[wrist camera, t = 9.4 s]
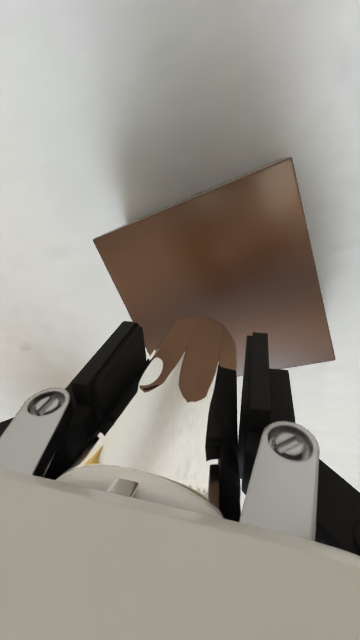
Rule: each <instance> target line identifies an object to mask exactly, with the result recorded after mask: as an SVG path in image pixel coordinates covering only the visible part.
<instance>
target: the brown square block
mask: <svg viewBox="0 0 360 640" xmlns="http://www.w3.org/2000/svg"><path fill="white" fill-rule="evenodd" d="M93 242H94V244H95V246H96V248H97V250H98V252H99V254H100V256H101V258H102V260H103V262H104V264H105V266H106V268H107V270H108V272H109V274H110V276H111V278H112V280H113V282H114V284H115V286H116V288H117V290H118V292H119V294H120V296H121V298H122V300H123V302H124V304H125V306H126V308H127V310H128V312H129V314H130V317H131V319H132V321H133V322H137V323H138V324H139V326H142V328H143V334H144V343H145V347H146V349H147V351H148V353H149V355H151V354H152V353H153V351H154V350H155V348H156V347H157V346H158V344H159V343H160V341H161V340H162V339H163V337H164V336H165V335H166V333H167V332H168V331H169V330H170V329H171V328H172V327H173V326H174V324H175V323H176V322H177V321H178V320H179V319H183V318H188V317H194V316H199V315H202V316H205V317H207V318H210V319H212V320H215V321H217V322H220V323H222V324H224V326H225V327H226V329H227V330H228V331H229V333H230V334H231V336H232V337H233V339H234V340H235V342H236V363H237V376H242V375H244V363H245V351H246V338H247V335H248V336H252V335H253V332H257V333H268V348H269V368H272V369H284V368H290V367H296V366H302V365H308V364H314V363H321V362H327V361H333V360H335V355H334V350H333V345H332V341H331V336H330V332H329V327H328V322H327V318H326V313H325V308H324V304H323V299H322V295H321V290H320V285H319V281H318V276H317V271H316V267H315V262H314V258H313V253H312V248H311V244H310V239H309V234H308V230H307V225H306V221H305V216H304V211H303V207H302V202H301V198H300V193H299V188H298V184H297V179H296V174H295V170H294V165H293V161H292V158H291V157H288V158H283V159H280V160H278V161H276V162H273V163H271V164H268V165H266V166H264V167H261V168H259V169H256V170H254V171H252V172H249V173H247V174H245V175H242V176H240V177H237V178H235V179H233V180H230V181H228V182H225V183H223V184H221V185H218V186H216V187H214V188H211V189H209V190H206V191H204V192H202V193H199V194H197V195H194V196H192V197H190V198H187V199H185V200H182V201H180V202H178V203H175V204H173V205H171V206H168V207H166V208H163V209H161V210H159V211H156V212H154V213H151V214H149V215H147V216H144V217H142V218H140V219H137V220H135V221H132V222H130V223H128V224H125V225H123V226H121V227H119V228H117V229H114V230H112V231H110V232H108V233H106V234H104V235H101V236H99V237H97V238H95V239H93Z"/></svg>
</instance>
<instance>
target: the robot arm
mask: <svg viewBox="0 0 360 640" xmlns="http://www.w3.org/2000/svg"><path fill="white" fill-rule="evenodd" d="M145 362H146V352H145V343H144V334H143V328H142V326H139V324H138V323H137V322H126V321H124V322H122V323H121V325H120V326H119V327H118V328H117V329H116V330H115V332H114V333H113V334H112V335H111V336H110V337H109V339H108V340H107V341H106V342H105V343H104V344H103V346H102V347H101V348H100V349H99V350H98V351H97V352H96V354H95V355H94V356H93V357H92V358H91V359H90V361H89V362H88V363H87V364H86V365H85V366H84V368H83V369H82V370H81V371H80V372H79V373H78V375H77V376H76V377H75V378H74V379H73V380H72V382H71V383H70V384H69V385H68V387H67V388H66V389H62V388H49V389H45V390H42V391H40V392H38V393H35V394H34V395H33V396H31V397H30V398H29V399H28V400H27V401H26V402H25V403H24V404H23V406H22V407H21V409H20V410H19V412H18V413H17V414H16V416H15V417H14V418H11V419H9V420H6V421H3V422H1V423H0V640H360V493H359V492H358V491H357V490H356V489H355V488H353V487H352V486H351V485H350V484H349V483H347V482H346V481H345V480H344V479H343V478H341V477H340V476H339V475H338V474H337V473H335V472H334V471H333V470H332V469H331V468H329V467H328V466H327V465H326V464H325V463H324V462H322V461H321V460H320V459H319V444H318V442H317V440H316V438H315V437H314V436H313V435H312V433H311V432H310V431H309V430H307V429H306V428H304V427H303V426H301V425H298V424H296V423H295V416H294V409H293V402H292V394H291V387H290V380H289V373H288V370H281V369H272V368H269V348H268V333H257V332H253V335H252V336H248V335H247V338H246V351H245V363H244V375H243V387H242V400H241V413H240V426H239V439H238V453H239V471H240V478H241V479H242V491H243V492H244V494H245V495H246V497H245V500H244V504H243V508H242V512H241V516H240V520H239V522H236V521H232V520H227V519H223V518H219V517H215V516H210V515H206V514H202V513H197V512H193V511H189V510H184V509H180V508H176V507H171V506H167V505H163V504H158V503H154V502H150V501H145V500H141V499H136V498H132V497H128V496H123V495H119V494H114V493H110V492H105V491H101V490H97V489H92V488H88V487H83V486H79V485H74V484H70V483H65V482H61V481H56V478H57V477H58V476H59V474H60V473H61V472H62V470H63V469H64V468H65V466H66V465H67V464H68V463H69V461H70V460H71V459H72V457H73V456H74V455H75V454H76V452H77V451H78V450H79V449H80V447H81V446H82V445H83V443H84V442H85V441H86V440H87V438H88V437H89V436H90V434H91V433H92V432H93V431H94V429H95V428H96V427H97V425H98V424H99V423H100V422H101V420H102V419H103V418H104V417H105V415H106V414H107V413H108V412H109V410H110V409H111V408H112V407H113V406H114V405H115V404H116V402H117V401H118V400H119V399H120V397H121V396H122V394H123V393H124V392H125V390H126V389H127V388H128V386H129V385H130V383H131V382H132V381H133V379H134V378H135V376H136V375H137V374H138V372H139V371H140V369H141V368H142V367H143V365H144V364H145Z"/></svg>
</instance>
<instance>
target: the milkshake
mask: <svg viewBox="0 0 360 640" xmlns="http://www.w3.org/2000/svg"><path fill="white" fill-rule="evenodd" d="M56 481H61V482H65V483H70V484H74V485H79V486H83V487H88V488H92V489H97V490H101V491H105V492H110V493H114V494H119V495H123V496H128V497H132V498H136V499H141V500H145V501H150V502H154V503H158V504H163V505H167V506H171V507H176V508H180V509H184V510H189V511H193V512H197V513H202V514H206V515H210V516H215V517H219V518H223V519H227V520H232V521H236V522H239V520H240V516H241V492H240V471H239V453H238V435H237V363H236V342H235V340H234V339H233V337H232V336H231V334H230V333H229V331H228V330H227V329H226V327H225V326H224V324H222V323H220V322H217V321H215V320H212V319H210V318H207V317H205V316H202V315H199V316H194V317H188V318H183V319H179V320H178V321H177V322H176V323H175V324H174V326H173V327H172V328H171V329H170V330H169V331H168V332H167V333H166V335H165V336H164V337H163V339H162V340H161V341H160V343H159V344H158V346H157V347H156V348H155V350H154V351H153V353H152V354H151V355H150V357H149V358H148V360H147V361H146V362H145V364H144V365H143V367H142V368H141V369H140V371H139V372H138V374H137V375H136V376H135V378H134V379H133V381H132V382H131V383H130V385H129V386H128V388H127V389H126V390H125V392H124V393H123V394H122V396H121V397H120V399H119V400H118V401H117V402H116V404H115V405H114V406H113V407H112V408H111V409H110V410H109V412H108V413H107V414H106V415H105V417H104V418H103V419H102V420H101V422H100V423H99V424H98V425H97V427H96V428H95V429H94V431H93V432H92V433H91V434H90V436H89V437H88V438H87V440H86V441H85V442H84V443H83V445H82V446H81V447H80V449H79V450H78V451H77V452H76V454H75V455H74V456H73V457H72V459H71V460H70V461H69V463H68V464H67V465H66V466H65V468H64V469H63V470H62V472H61V473H60V474H59V476H58V477H57V478H56Z"/></svg>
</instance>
